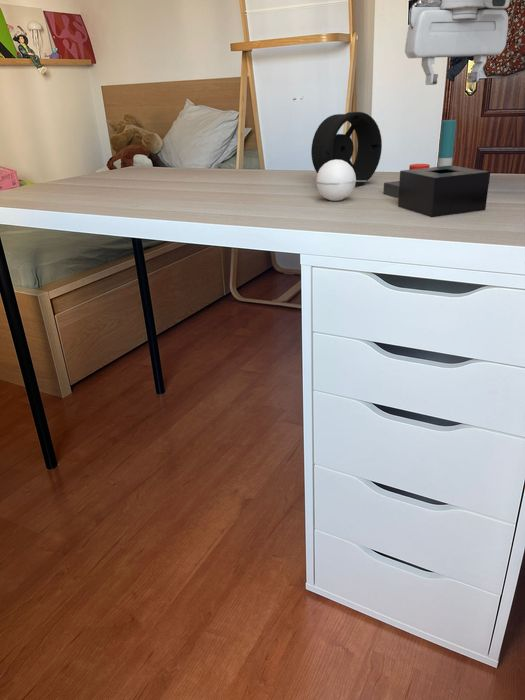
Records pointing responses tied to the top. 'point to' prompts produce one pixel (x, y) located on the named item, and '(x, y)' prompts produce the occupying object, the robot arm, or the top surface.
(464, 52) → the robot arm
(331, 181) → the seamed sphere
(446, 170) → the black block with hole
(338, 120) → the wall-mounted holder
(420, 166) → the power button
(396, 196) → the block
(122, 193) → the top surface
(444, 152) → the teal and grey cylinder
